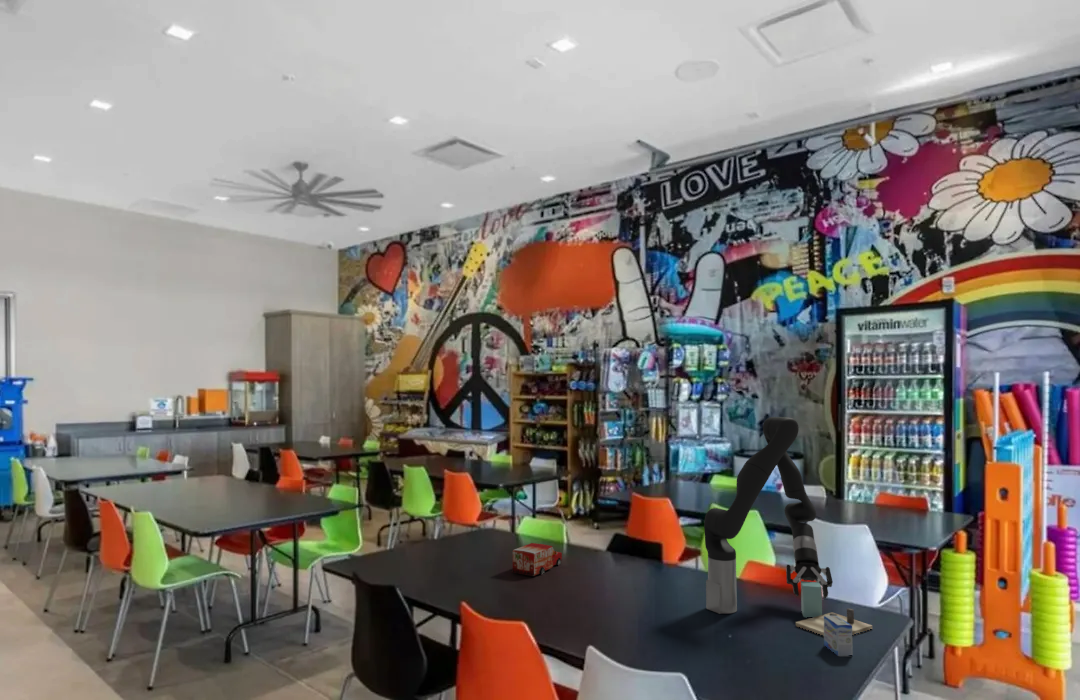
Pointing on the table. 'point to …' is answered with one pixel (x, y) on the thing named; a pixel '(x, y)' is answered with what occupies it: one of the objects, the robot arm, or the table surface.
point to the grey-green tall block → (811, 599)
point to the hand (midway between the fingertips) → (811, 596)
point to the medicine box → (838, 636)
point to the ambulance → (535, 559)
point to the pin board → (820, 624)
